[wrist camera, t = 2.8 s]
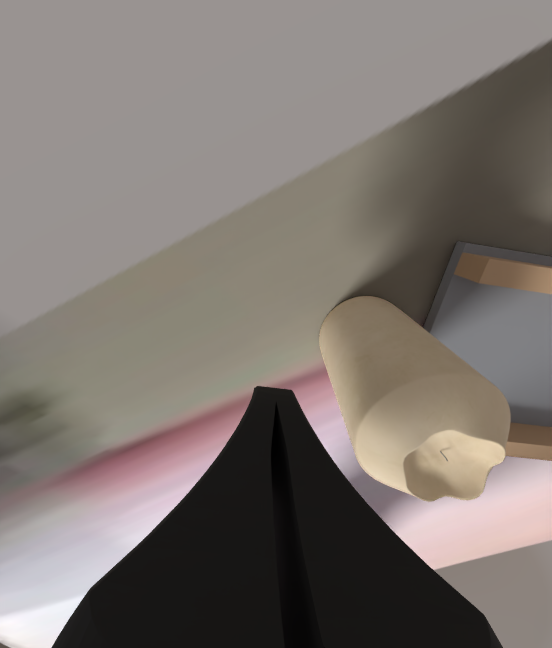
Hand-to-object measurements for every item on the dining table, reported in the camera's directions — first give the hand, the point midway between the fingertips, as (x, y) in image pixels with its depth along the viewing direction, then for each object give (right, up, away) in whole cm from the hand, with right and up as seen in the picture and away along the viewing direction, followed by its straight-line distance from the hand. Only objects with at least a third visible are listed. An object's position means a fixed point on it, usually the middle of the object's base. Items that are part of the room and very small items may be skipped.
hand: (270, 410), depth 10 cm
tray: (+16, +1, +8) cm, 18 cm away
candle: (+6, +2, +8) cm, 10 cm away
